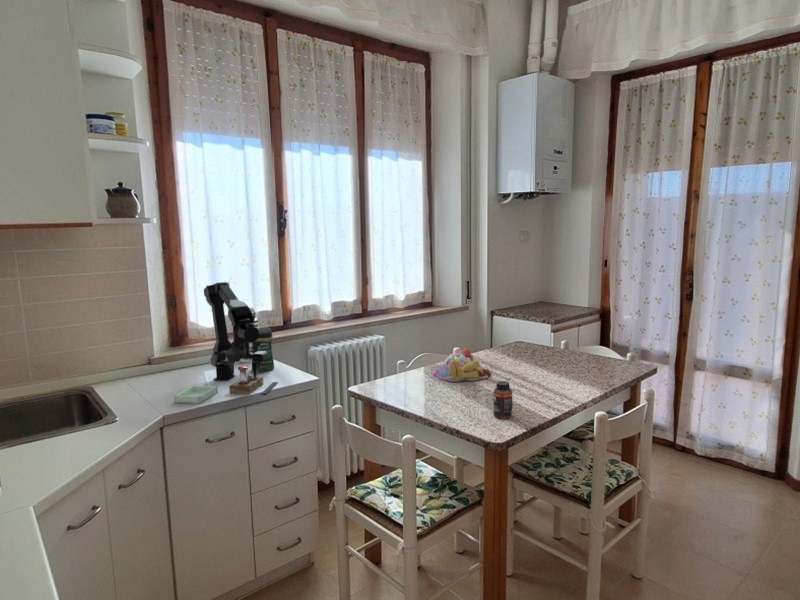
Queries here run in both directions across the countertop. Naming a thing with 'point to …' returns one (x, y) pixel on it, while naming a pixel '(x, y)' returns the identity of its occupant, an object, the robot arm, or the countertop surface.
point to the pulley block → (246, 389)
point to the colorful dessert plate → (461, 368)
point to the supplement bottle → (502, 400)
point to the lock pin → (243, 374)
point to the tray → (196, 394)
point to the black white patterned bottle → (251, 342)
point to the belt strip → (269, 388)
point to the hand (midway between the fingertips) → (243, 377)
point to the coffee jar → (264, 348)
